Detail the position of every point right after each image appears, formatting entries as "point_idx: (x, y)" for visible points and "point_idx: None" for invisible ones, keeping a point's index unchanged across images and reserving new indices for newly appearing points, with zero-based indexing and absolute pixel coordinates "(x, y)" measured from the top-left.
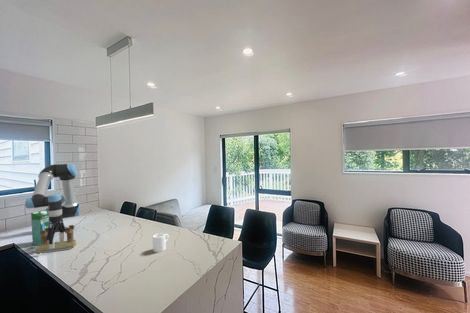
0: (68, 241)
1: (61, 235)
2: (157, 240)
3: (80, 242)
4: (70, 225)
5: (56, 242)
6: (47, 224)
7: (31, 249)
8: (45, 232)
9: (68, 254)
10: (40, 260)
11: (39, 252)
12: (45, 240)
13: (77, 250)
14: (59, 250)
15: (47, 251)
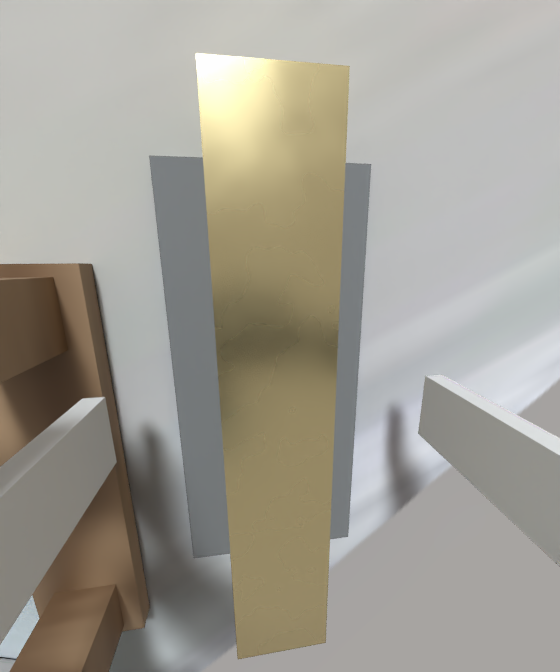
0: (279, 217)
1: (12, 550)
2: None
3: (36, 117)
4: None
5: (245, 462)
6: None
7: (167, 668)
8: None
9: (551, 106)
10: (551, 383)
11: (334, 525)
12: None
13: (457, 7)
14: (360, 315)
15: (340, 453)
